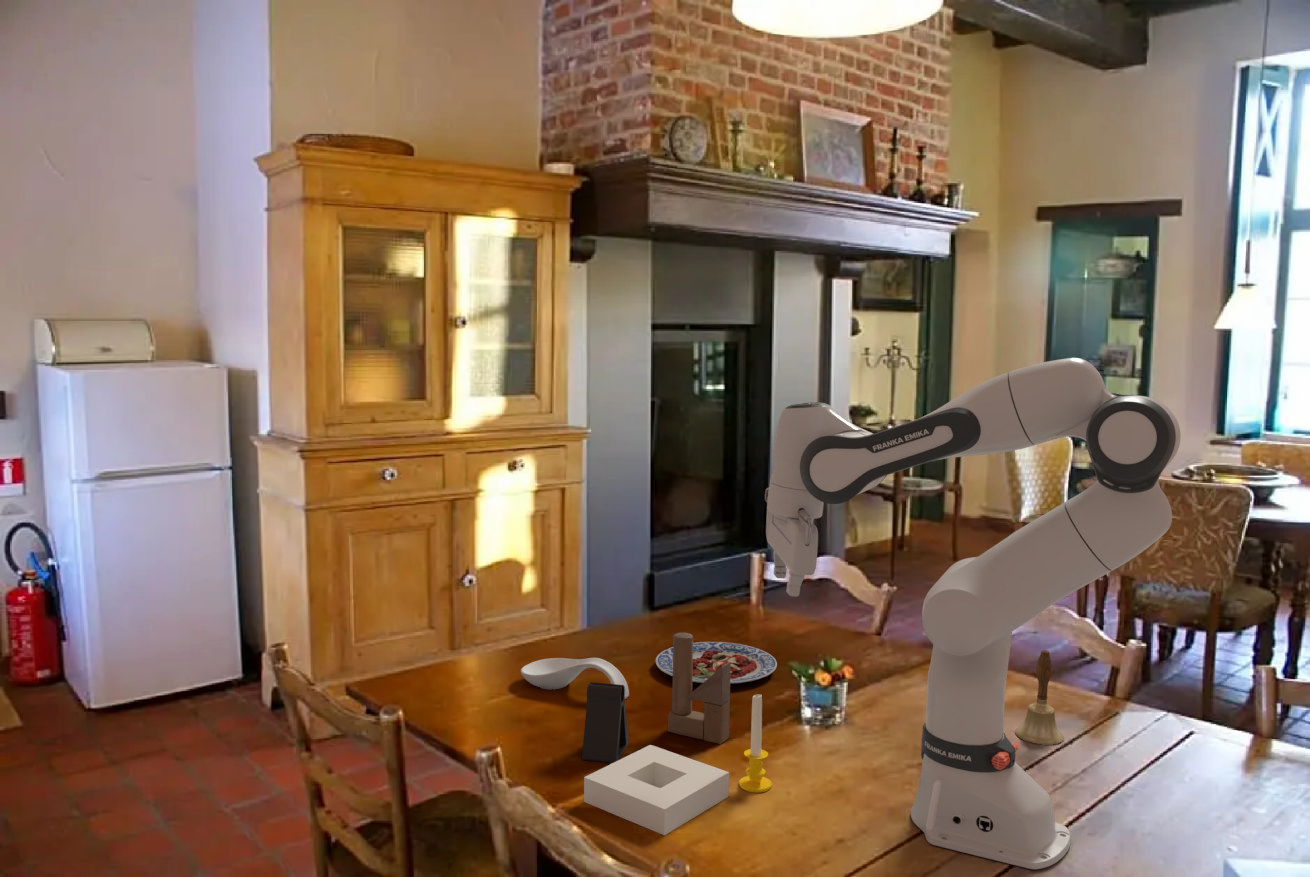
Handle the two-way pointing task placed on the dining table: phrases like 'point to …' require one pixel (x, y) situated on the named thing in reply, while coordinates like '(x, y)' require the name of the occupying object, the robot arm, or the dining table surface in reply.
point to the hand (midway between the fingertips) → (785, 585)
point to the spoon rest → (568, 672)
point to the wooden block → (698, 697)
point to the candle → (756, 753)
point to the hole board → (656, 788)
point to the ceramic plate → (723, 661)
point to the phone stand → (605, 723)
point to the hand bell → (1041, 710)
